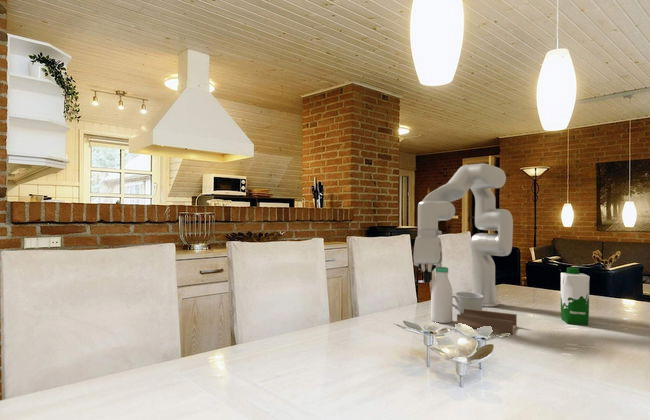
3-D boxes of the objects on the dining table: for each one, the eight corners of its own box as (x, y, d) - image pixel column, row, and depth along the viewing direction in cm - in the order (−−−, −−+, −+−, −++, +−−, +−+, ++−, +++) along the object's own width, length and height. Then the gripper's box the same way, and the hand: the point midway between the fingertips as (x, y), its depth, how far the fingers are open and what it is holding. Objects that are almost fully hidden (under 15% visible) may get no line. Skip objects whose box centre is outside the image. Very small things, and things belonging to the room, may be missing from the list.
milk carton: (583, 320, 162) (583, 267, 162) (592, 326, 153) (592, 270, 153) (558, 318, 164) (558, 266, 164) (565, 324, 155) (565, 269, 155)
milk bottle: (453, 324, 154) (453, 269, 154) (431, 323, 155) (431, 268, 155) (451, 319, 161) (451, 266, 161) (430, 318, 163) (430, 265, 163)
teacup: (479, 311, 175) (479, 292, 175) (486, 317, 164) (486, 297, 164) (444, 310, 177) (445, 291, 177) (450, 316, 166) (450, 296, 166)
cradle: (464, 320, 160) (464, 308, 160) (516, 326, 151) (516, 314, 151) (456, 327, 149) (457, 314, 149) (512, 335, 140) (512, 321, 140)
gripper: (450, 233, 161) (449, 282, 161) (411, 232, 168) (411, 279, 168) (445, 234, 154) (444, 285, 154) (405, 233, 162) (405, 281, 162)
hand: (427, 281), depth 161 cm, fingers closed
